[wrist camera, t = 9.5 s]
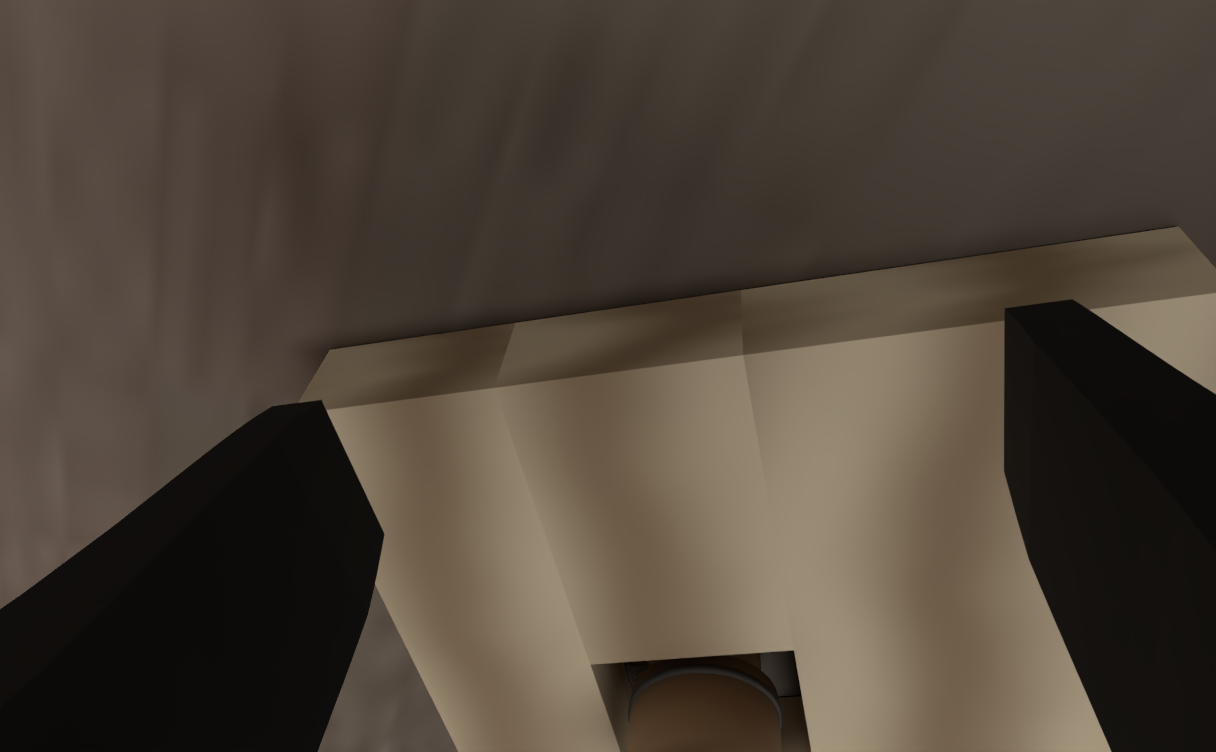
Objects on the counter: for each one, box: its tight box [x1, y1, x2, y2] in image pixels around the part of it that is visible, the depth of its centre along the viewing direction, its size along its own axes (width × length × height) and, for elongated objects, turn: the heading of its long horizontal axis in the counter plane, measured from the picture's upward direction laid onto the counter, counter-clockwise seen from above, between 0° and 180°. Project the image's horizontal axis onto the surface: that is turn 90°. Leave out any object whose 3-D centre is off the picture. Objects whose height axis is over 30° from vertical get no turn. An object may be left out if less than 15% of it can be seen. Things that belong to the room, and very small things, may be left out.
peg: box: [627, 653, 782, 752], centre depth 24 cm, size 4×4×7 cm
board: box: [298, 227, 1216, 752], centre depth 24 cm, size 18×18×2 cm
